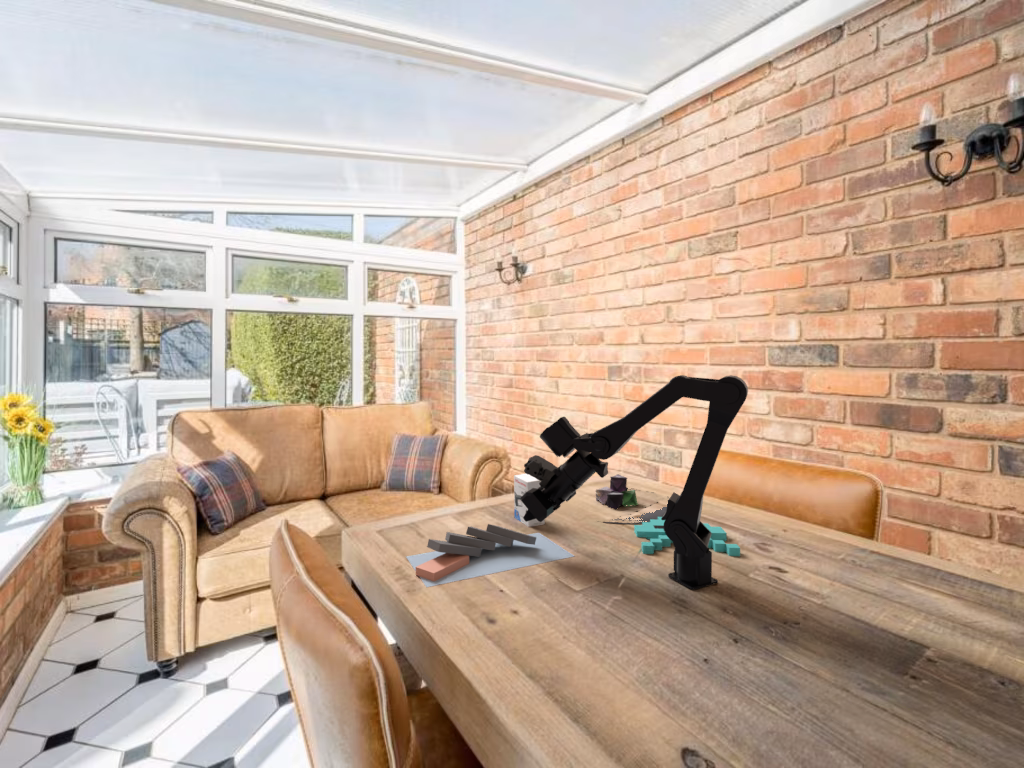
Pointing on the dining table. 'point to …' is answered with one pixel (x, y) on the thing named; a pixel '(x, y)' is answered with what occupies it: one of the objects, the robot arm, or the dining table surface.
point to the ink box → (520, 488)
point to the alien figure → (660, 539)
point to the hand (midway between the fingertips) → (525, 519)
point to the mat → (497, 559)
